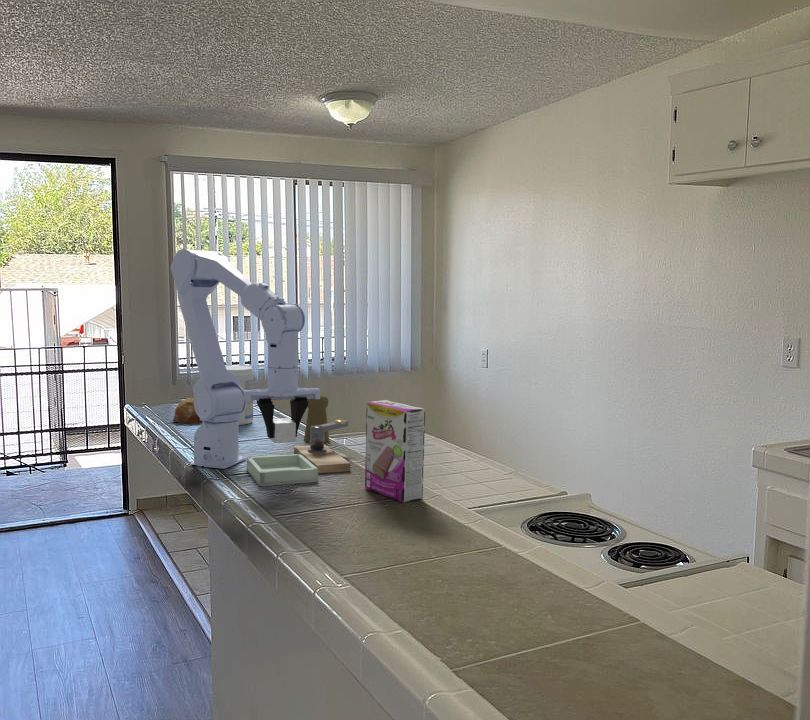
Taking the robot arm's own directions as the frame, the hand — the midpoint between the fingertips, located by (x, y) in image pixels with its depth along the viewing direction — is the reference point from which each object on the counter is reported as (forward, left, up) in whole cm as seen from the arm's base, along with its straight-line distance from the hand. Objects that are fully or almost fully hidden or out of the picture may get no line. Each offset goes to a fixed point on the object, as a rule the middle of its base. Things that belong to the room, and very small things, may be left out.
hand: (282, 436), depth 147 cm
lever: (+20, -2, -5) cm, 21 cm away
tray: (0, 0, -8) cm, 8 cm away
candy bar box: (-5, -24, -8) cm, 26 cm away
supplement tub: (+45, +34, -8) cm, 57 cm away
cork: (+33, +6, -8) cm, 35 cm away
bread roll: (+44, +45, -8) cm, 64 cm away
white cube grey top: (0, 0, -1) cm, 1 cm away
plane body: (+13, -3, -8) cm, 16 cm away
